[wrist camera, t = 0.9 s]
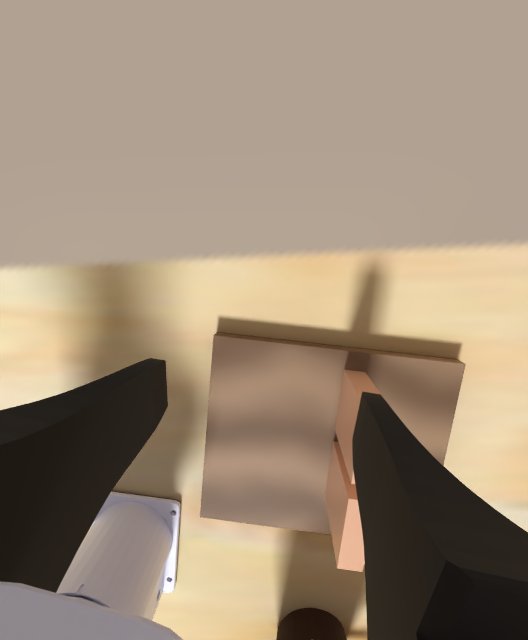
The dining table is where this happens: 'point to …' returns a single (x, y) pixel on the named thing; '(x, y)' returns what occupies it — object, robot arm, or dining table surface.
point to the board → (303, 422)
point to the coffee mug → (310, 626)
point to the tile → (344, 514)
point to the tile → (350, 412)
